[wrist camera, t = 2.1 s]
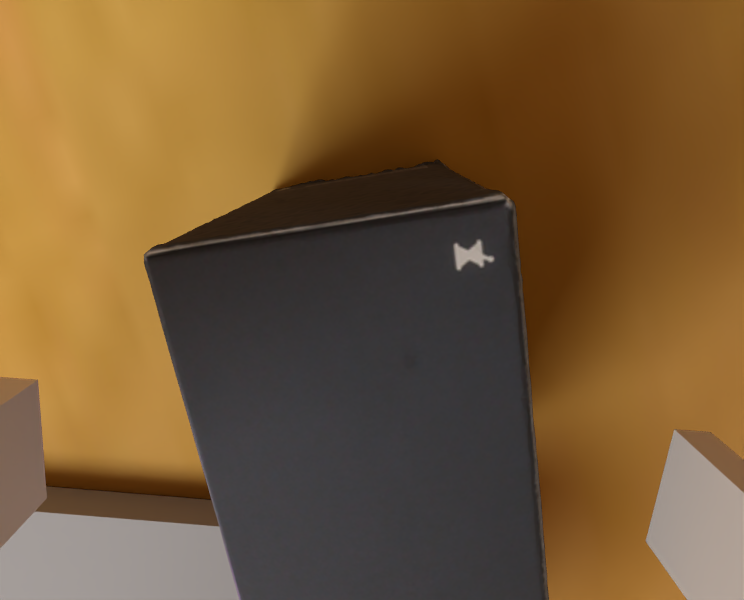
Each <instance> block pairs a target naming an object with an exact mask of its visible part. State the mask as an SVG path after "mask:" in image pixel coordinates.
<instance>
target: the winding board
mask: <svg viewBox="0 0 744 600" xmlns="http://www.w3.org/2000/svg"><path fill="white" fill-rule="evenodd" d="M46 492H47V499H46V500H45V501H44V502H43V503H42V504H41V505H40V506H39V507H38V508H37V509H36V511H35V512H34V513H33V514H32V515H31V516H30V517H29V518H28V519H27V520H26V521H25V522H24V524H23V525H22V526H21V527H20V528H19V529H18V530H17V531H16V532H15V533H14V534H13V535H12V536H11V538H10V539H9V540H8V541H7V542H6V543H5V544H4V545H3V546H2V547H1V548H0V600H239V597H238V593H237V590H236V586H235V583H234V579H233V575H232V572H231V568H230V565H229V561H228V557H227V554H226V550H225V546H224V542H223V539H222V535H221V531H220V527H219V524H218V521H217V517H216V514H215V510H214V507H213V503H212V500H206V499H194V498H182V497H170V496H158V495H145V494H133V493H121V492H109V491H97V490H84V489H72V488H60V487H48V486H46Z"/></svg>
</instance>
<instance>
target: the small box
mask: <svg viewBox="0 0 744 600" xmlns="http://www.w3.org/2000/svg"><path fill="white" fill-rule="evenodd" d="M144 264H145V268H146V271H147V274H148V278H149V281H150V284H151V288H152V292H153V295H154V299H155V302H156V306H157V310H158V314H159V317H160V321H161V324H162V328H163V331H164V335H165V338H166V342H167V345H168V349H169V352H170V356H171V359H172V363H173V366H174V370H175V373H176V377H177V380H178V384H179V387H180V390H181V394H182V397H183V401H184V404H185V408H186V411H187V415H188V419H189V422H190V426H191V429H192V433H193V436H194V440H195V443H196V447H197V450H198V454H199V457H200V461H201V464H202V468H203V471H204V475H205V479H206V482H207V486H208V489H209V493H210V496H211V500H212V503H213V507H214V510H215V514H216V517H217V521H218V524H219V527H220V531H221V535H222V539H223V542H224V546H225V550H226V554H227V557H228V561H229V565H230V568H231V572H232V575H233V579H234V583H235V586H236V590H237V593H238V597H239V600H549V596H548V587H547V570H546V560H545V545H544V536H543V521H542V506H541V495H540V485H539V472H538V461H537V454H536V438H535V429H534V421H533V408H532V391H531V379H530V371H529V357H528V342H527V329H526V319H525V309H524V297H523V289H522V284H523V279H522V275H521V271H520V269H521V261H520V253H519V243H518V228H517V214H516V206H515V204H514V201H512V200H511V199H509V198H508V197H507V196H506V195H505V194H504V193H502V192H500V191H498V190H489V189H485V188H484V187H482V186H480V185H478V184H476V183H475V182H472V181H471V180H469V179H467V178H465V177H463V176H461V175H459V174H458V173H456V172H454V171H452V170H450V169H449V168H448V167H447V166H446V165H444V164H443V163H441V162H440V160H435V161H434V163H433V162H424V163H422V164H418V165H416V166H415V167H411V168H405V169H404V168H402V167H399V168H397V169H395V170H384V171H383V172H379V173H377V174H374V173H370V174H367V175H359V176H355V177H347V176H346V177H344V178H340V179H336V180H329V181H324V180H316V181H309V182H307V183H301V184H298V185H295V186H291V187H288V188H283V189H276V190H273V191H272V192H270V193H268V194H266V195H264V196H262V197H260V198H258V199H256V200H255V201H252V202H250V203H248V204H245V205H244V206H242V207H240V208H238V209H235V210H233V211H231V212H229V213H228V214H226V215H223V216H221V217H219V218H217V219H213V220H212V221H211V222H209V223H205V224H203V225H201V226H199V227H197V228H195V229H193V230H192V231H189V232H187V233H185V234H184V235H182V236H179V237H177V238H175V239H173V240H171V241H169V242H167V243H164V244H159V245H156V246H154V247H152V248H151V249H150V250H149V251H148V252H146V253H145V254H144Z"/></svg>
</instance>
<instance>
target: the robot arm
mask: <svg viewBox="0 0 744 600" xmlns="http://www.w3.org/2000/svg"><path fill="white" fill-rule="evenodd" d="M46 499H47V492H46V479H45V466H44V453H43V440H42V427H41V414H40V401H39V388H38V380H32V379H19V378H6V377H0V548H1V547H2V546H3V545H4V544H5V543H6V542H7V541H8V540H9V539H10V538H11V536H12V535H13V534H14V533H15V532H16V531H17V530H18V529H19V528H20V527H21V526H22V525H23V524H24V522H25V521H26V520H27V519H28V518H29V517H30V516H31V515H32V514H33V513H34V512H35V511H36V509H37V508H38V507H39V506H40V505H41V504H42V503H43V502H44V501H45V500H46ZM646 542H647V544H648V545H649V546H650V548H651V549H652V551H653V552H654V554H655V555H656V556H657V558H658V559H659V561H660V562H661V563H662V565H663V566H664V568H665V569H666V571H667V572H668V573H669V575H670V576H671V578H672V579H673V580H674V582H675V583H676V585H677V586H678V587H679V589H680V590H681V592H682V593H683V595H684V596H685V597H686V599H687V600H744V460H743V459H742V458H741V457H740V456H739V455H737V454H736V453H735V452H734V451H732V450H731V449H730V448H729V447H728V446H726V445H725V444H724V443H723V442H722V441H720V440H719V439H718V438H717V437H716V436H714V435H713V434H712V433H711V432H703V431H690V430H677V429H674V433H673V436H672V440H671V444H670V448H669V452H668V456H667V460H666V464H665V468H664V472H663V476H662V480H661V483H660V487H659V491H658V495H657V499H656V503H655V507H654V511H653V515H652V519H651V523H650V526H649V530H648V534H647V538H646Z"/></svg>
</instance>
